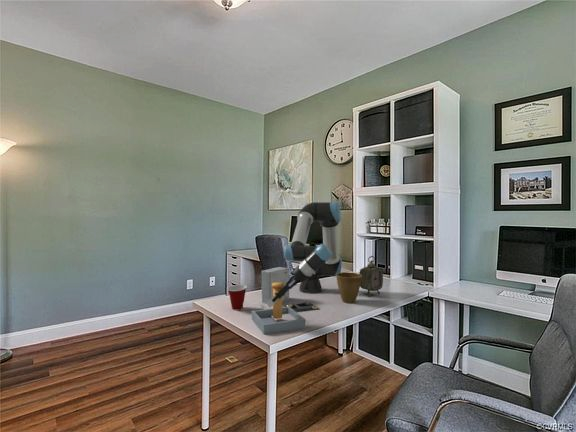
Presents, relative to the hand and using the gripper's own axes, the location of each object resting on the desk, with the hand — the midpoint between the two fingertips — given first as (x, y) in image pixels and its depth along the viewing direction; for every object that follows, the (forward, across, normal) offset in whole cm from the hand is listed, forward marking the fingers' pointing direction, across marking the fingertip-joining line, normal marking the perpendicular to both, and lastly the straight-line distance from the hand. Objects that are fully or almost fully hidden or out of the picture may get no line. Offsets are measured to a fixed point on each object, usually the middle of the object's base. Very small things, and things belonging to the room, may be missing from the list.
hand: (269, 303), depth 146 cm
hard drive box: (+10, +30, -3) cm, 32 cm away
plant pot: (-19, +44, -32) cm, 58 cm away
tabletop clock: (-28, +64, -42) cm, 81 cm away
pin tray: (+4, 0, -9) cm, 10 cm away
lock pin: (+2, 0, -7) cm, 7 cm away
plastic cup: (+23, +16, +10) cm, 30 cm away
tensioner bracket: (-2, +22, -15) cm, 26 cm away
